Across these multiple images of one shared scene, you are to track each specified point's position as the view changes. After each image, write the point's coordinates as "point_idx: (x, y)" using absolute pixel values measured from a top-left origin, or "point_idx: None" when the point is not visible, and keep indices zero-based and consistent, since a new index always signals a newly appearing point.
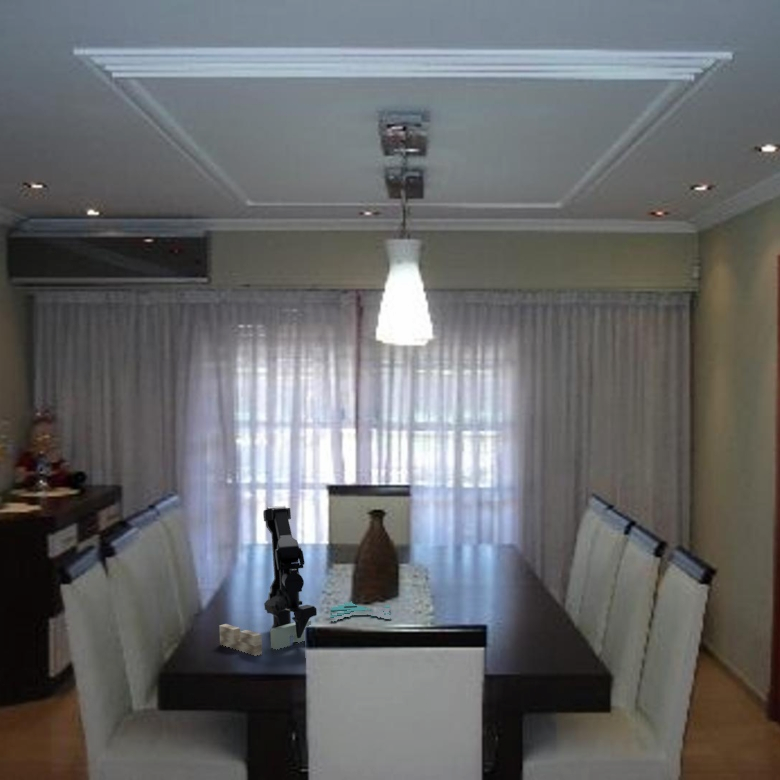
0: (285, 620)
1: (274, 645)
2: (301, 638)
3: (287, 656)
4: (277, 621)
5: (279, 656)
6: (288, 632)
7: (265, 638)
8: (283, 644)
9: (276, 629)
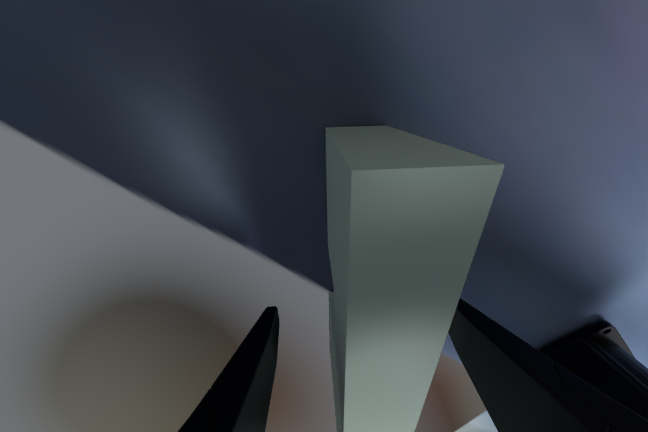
0: (511, 426)
1: (347, 131)
2: (331, 329)
3: (99, 81)
4: (582, 381)
5: (138, 24)
6: (338, 309)
7: (566, 235)
8: (328, 208)
9: (376, 218)
